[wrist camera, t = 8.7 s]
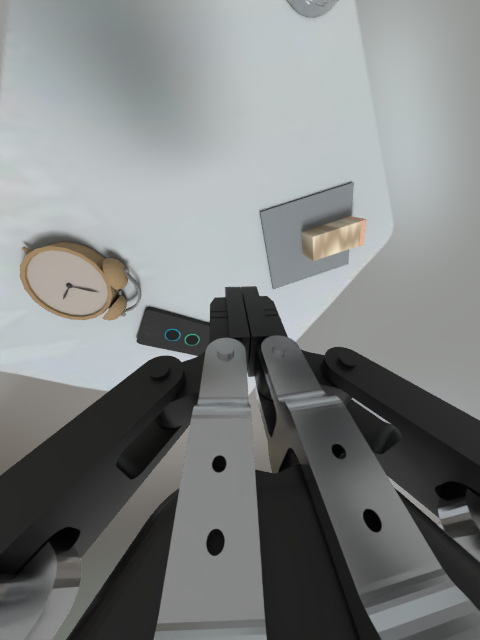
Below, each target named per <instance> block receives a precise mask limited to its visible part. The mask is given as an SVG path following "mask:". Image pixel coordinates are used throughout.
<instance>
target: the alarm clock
mask: <svg viewBox="0 0 480 640" xmlns="http://www.w3.org/2000/svg"><path fill="white" fill-rule="evenodd" d="M22 249H23V250H24V251H25V252H26V253H27V255H26V256H25V257H24V259H23V261H22V263H21V265H20V278H21V281H22V283H23V286H24V289H25V290H26V291H27V293H28V294H29V295H30V296H31V298H32V299H33V300H34V301H35V302H37V303H38V304H39V305H40V306H42V307H43V308H44V309H46V310H48V311H50V312H52V313H54V314H56V315H58V316H61V317H65V318H68V319H75V320H86V319H91V318H95V317H97V316H99V315H101V314H102V313H104V312H105V311H106V310H107V308H108V307H109V306H111V308H110V309H109V310H108V312H107V313H106V314H105V315H104V317H103V319H105V320H114V319H116V318H118V317H119V316H120V315H121V316H125V315H126V314H125V312H127V311H130V310H132V309H134V308H135V307H136V306H137V305H138V303H139V301H140V299H141V289H140V286H139V284H138V283H137V281H136V280H135V279H134V278H133V277H132V276H131V275H130V274H129V273H128V272H129V270H128V269H126V268H125V266H124V265H123V264H122V263H121V262H120V261H119V260H117V259H114V258H106V259H105V258H104V257H103V256H101V255H100V254H98V253H97V252H95V251H94V250H92V249H91V248H88V247H86V246H83V245H80V244H78V243H71V242H58V243H53V244H49V245H47V246H44V247H41V248H37V249H35V250H33V251H31V250H30V249H28V248H26V247H23V248H22ZM128 279H129V280H130V281H131V282H132V283H133V284H134V285H135V287H136V289H137V292H138V300H137V303H136V304H135V305H134V306H132V307H130V308H127V309H126V310H125V308H126V305H127V302H126V299H125V298H124V297H123V296H122V295H121V293H122V291H121V290H119V289H121V288H123V287H125V286H126V284H127V282H128ZM118 290H119V292H118ZM118 293H119V295H121V296H120V297H119V298H118V299H117V300H116V302H115V303H114V304H113V305H112V302H113V301H114V300H115V299H116V297H117V294H118ZM124 310H125V311H124Z"/></svg>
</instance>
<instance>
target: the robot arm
mask: <svg viewBox="0 0 480 640" xmlns="http://www.w3.org/2000/svg"><path fill="white" fill-rule="evenodd" d="M288 2H289V3H290V5H291V6H292V7H293V8H294V9H295V10H296V11H297V12H298V13H300V14H302V15H304V16H306V17H317V16H321V15H323V14H325V13H326V12H328V11H329V10H330V9H331V8H332V7H333V6H334V5H335V4H336V3H337V2H338V0H288ZM247 370H248V377H252V376H255V380H256V389H255V393H256V398H257V401H258V406H259V410H260V413H261V417H262V421H263V425H264V429H265V433H266V437H267V442H268V454H269V461H270V466H271V470H272V473H269V472H263V471H259V470H255V464H254V463H255V462H254V447H253V432H252V417H251V407H250V404H249V401H248V383H247ZM352 397H353V398H354V399H356V400H357V401H359V402H360V403H362V404H363V405H364V406H366V407H367V408H369V409H370V410H372V411H373V412H375V413H376V414H378V415H379V416H381V417H382V418H384V419H385V420H387V421H388V422H389V423H391V424H389V423H386V422H383V421H382V420H380V419H379V418H378V417H376V416H375V415H373V414H372V413H370V412H369V411H367V410H366V409H364V408H363V407H362V406H360V405H359V404H357V403H356V402H354V401H353V400H351V399H352ZM189 425H190V429H189V435H188V441H187V447H186V453H185V459H184V465H183V471H182V477H181V483H180V488H179V489H177V490H176V491H175V492H174V493H172V494H171V495H170V496H169V497H168V498H167V499H166V500H164V502H162V503H161V504H160V505H159V507H158V508H157V509H156V510H155V511H154V513H153V514H152V515H151V516H150V518H149V519H148V520H147V522H146V523H145V525H144V526H143V527H142V529H141V530H140V532H139V533H138V535H137V536H136V538H135V539H134V541H133V542H132V544H131V545H130V547H129V548H128V550H127V551H126V553H125V554H124V555H123V557H122V558H121V560H120V561H119V563H118V564H117V566H116V567H115V569H114V570H113V572H112V573H111V575H110V576H109V578H108V579H107V581H106V582H105V583H104V585H103V586H102V588H101V589H100V591H99V592H98V594H97V595H96V597H95V598H94V600H93V601H92V603H91V604H90V605H89V607H88V609H87V610H86V611H85V613H84V614H83V616H82V617H81V619H80V620H79V622H78V623H77V625H76V626H75V627H74V629H73V631H72V632H71V633H70V635H69V637H68V638H67V639H66V640H480V421H479V420H478V419H476V418H474V417H472V416H470V415H469V414H467V413H465V412H463V411H461V410H460V409H458V408H456V407H454V406H452V405H451V404H449V403H447V402H445V401H443V400H441V399H440V398H438V397H436V396H434V395H432V394H430V393H429V392H427V391H425V390H423V389H421V388H420V387H418V386H416V385H414V384H413V383H411V382H409V381H407V380H405V379H403V378H402V377H400V376H398V375H396V374H394V373H393V372H391V371H389V370H387V369H385V368H384V367H382V366H380V365H378V364H376V363H375V362H373V361H371V360H369V359H367V358H366V357H364V356H362V355H360V354H358V353H357V352H355V351H353V350H350V349H347V348H343V347H334V348H331V349H329V350H328V351H327V352H326V354H325V355H320V354H315V353H310V352H306V351H303V350H301V349H300V348H299V346H298V345H297V343H296V342H295V341H293V340H292V339H290V338H288V337H287V334H286V332H285V329H284V327H283V324H282V322H281V319H280V317H279V314H278V312H277V310H276V307H275V304H274V302H273V301H272V300H271V299H270V298H269V297H267V296H259V293H258V290H257V287H256V286H251V287H241V288H240V287H225V297H222V298H214V300H213V301H212V302H211V304H210V332H209V345H208V347H207V348H206V350H205V352H203V353H202V354H201V355H200V356H198V357H196V358H193V359H191V360H187V361H184V362H181V361H180V360H179V359H177V358H175V357H173V356H159V357H156V358H153V359H151V360H149V361H148V362H146V363H145V364H144V365H142V366H141V367H140V368H138V369H137V370H136V371H135V372H133V373H132V374H131V375H129V376H128V377H127V378H126V379H124V380H123V381H122V382H120V383H119V384H118V385H117V386H115V387H114V388H113V389H111V390H110V391H109V392H108V393H106V394H105V395H104V396H102V397H101V398H100V399H99V400H97V401H96V402H95V403H93V404H92V405H91V406H89V407H88V408H87V409H86V410H84V411H83V412H82V413H81V414H80V415H78V416H77V417H75V418H74V419H73V420H72V421H70V422H69V423H68V424H66V425H65V426H64V427H62V428H61V429H60V430H59V431H57V432H56V433H55V434H54V435H52V436H51V437H50V438H48V439H47V440H46V441H45V442H43V443H42V444H41V445H39V446H38V447H37V448H35V449H34V450H33V451H32V452H30V453H29V454H28V455H26V456H25V457H24V458H23V459H21V460H20V461H19V462H17V463H16V464H15V465H14V466H12V467H11V468H10V469H8V470H7V471H6V472H5V473H3V474H2V475H1V476H0V640H52V639H53V637H54V635H55V634H56V632H57V630H58V629H59V627H60V626H61V624H62V623H63V621H64V619H65V618H66V616H67V614H68V613H69V611H70V609H71V607H72V605H73V603H74V600H75V598H76V595H77V592H78V589H79V586H80V581H81V574H82V564H81V560H80V559H81V557H82V556H83V555H84V554H85V552H86V551H87V550H88V549H89V547H90V546H91V545H92V544H93V543H94V541H95V540H96V539H97V538H98V537H99V535H100V534H101V533H102V532H103V530H104V529H105V528H106V527H107V525H108V524H109V523H110V522H111V521H112V519H113V518H114V517H115V515H117V513H118V512H119V511H120V510H121V508H122V507H123V506H124V505H125V504H126V502H127V501H128V500H129V499H130V497H131V496H132V495H133V494H134V492H135V491H136V490H137V489H138V487H139V486H140V485H141V484H142V483H143V481H144V480H145V479H146V478H147V477H148V475H149V474H150V473H151V472H152V470H153V469H154V468H155V467H156V466H157V464H158V463H159V462H160V461H161V459H162V458H163V457H164V456H165V455H166V453H167V452H168V451H169V450H170V448H171V447H172V446H173V445H174V444H175V442H176V441H177V440H178V439H179V437H180V436H181V435H182V434H183V433H184V431H185V430H186V429H187V428H188V426H189ZM387 476H388V477H390V478H391V479H392V480H393V481H395V482H396V483H397V484H398V485H399V486H401V487H402V488H403V489H404V490H406V491H407V492H408V493H410V494H411V495H412V496H413V497H414V498H415V499H417V500H418V501H419V502H420V503H421V504H423V505H424V506H425V507H426V508H428V509H429V510H430V511H431V512H432V513H434V514H435V515H436V516H437V517H439V518H440V521H439V523H438V525H437V524H436V523H434V522H433V521H432V520H431V519H430V518H429V517H428V516H426V515H425V514H424V513H423V512H422V511H421V510H419V509H418V508H417V507H416V506H415V505H414V504H413V503H411V502H410V501H409V500H408V499H407V498H406V497H405V496H404V495H402V494H401V493H400V492H399V491H397V490H396V489H395V488H394V487H393V485H392V484H391V482H390V480H389V479H388V477H387Z"/></svg>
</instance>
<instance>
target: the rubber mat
mask: <svg viewBox="0 0 480 640" xmlns="http://www.w3.org/2000/svg"><path fill="white" fill-rule="evenodd" d="M353 186H354V183H349V184H346V185H343V186H339V187H336V188H333V189H330V190H327V191H324V192H321V193H318V194H315V195H311V196H308V197H305V198H302V199H299V200H296V201H293V202H290V203H286V204H283V205H280V206H277V207H274V208H271V209H268V210H265V211H261V212H260V217H261V223H262V229H263V235H264V240H265V246H266V252H267V258H268V264H269V270H270V276H271V281H272V287H273V289H276V288H279V287H282V286H284V285H287V284H290V283H293V282H296V281H299V280H302V279H305V278H308V277H311V276H314V275H317V274H320V273H323V272H326V271H329V270H332V269H335V268H338V267H341V266H343V265H346V264H348V259H349V249H348V250H345V251H342V252H339V253H336V254H333V255H330V256H327V257H324V258H321V259H318V260H315V261H313V260H311V259H309V258H308V257H306V256H304V255H303V254H302V239H301V232H303V231H306V230H310V229H313V228H316V227H319V226H322V225H325V224H328V223H331V222H334V221H337V220H340V219H343V218H345V217H348V216H351V215H352V201H353Z"/></svg>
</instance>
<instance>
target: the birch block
mask: <svg viewBox="0 0 480 640" xmlns="http://www.w3.org/2000/svg"><path fill="white" fill-rule="evenodd" d="M365 226H366V219H362V218H357V217H351V216H348V217H345V218H343V219H340V220H337V221H334V222H331V223H328V224H325V225H322V226H319V227H316V228H313V229H310V230H306V231H303V232H301V239H302V254H303V255H304V256H306V257H308V258H309V259H311V260H313V261H315V260H318V259H321V258H324V257H327V256H330V255H333V254H336V253H339V252H342V251H345V250H348V249H351V248H354V247H357V246H362V245H363V244H364V235H365Z"/></svg>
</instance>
